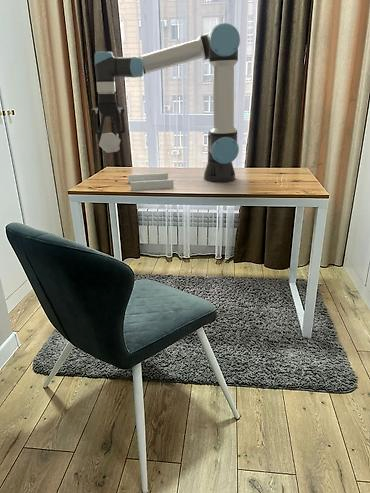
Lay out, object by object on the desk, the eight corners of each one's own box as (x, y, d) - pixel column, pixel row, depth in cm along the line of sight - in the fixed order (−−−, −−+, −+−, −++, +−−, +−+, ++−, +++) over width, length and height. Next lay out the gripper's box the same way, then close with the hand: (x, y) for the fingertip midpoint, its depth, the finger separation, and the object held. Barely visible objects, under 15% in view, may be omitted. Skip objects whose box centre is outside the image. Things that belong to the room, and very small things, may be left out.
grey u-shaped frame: (167, 179, 193) (167, 172, 192) (173, 187, 180) (173, 179, 178) (128, 182, 189) (127, 175, 188) (131, 190, 176) (130, 182, 175)
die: (120, 154, 168) (125, 134, 170) (102, 146, 164) (107, 125, 166) (111, 159, 175) (116, 139, 177) (93, 151, 170) (99, 130, 172)
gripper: (128, 92, 171) (131, 147, 180) (83, 93, 167) (89, 149, 176) (129, 92, 164) (133, 150, 173) (83, 93, 161) (89, 152, 170)
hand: (111, 149), depth 175 cm, fingers closed on die, 6 cm apart
